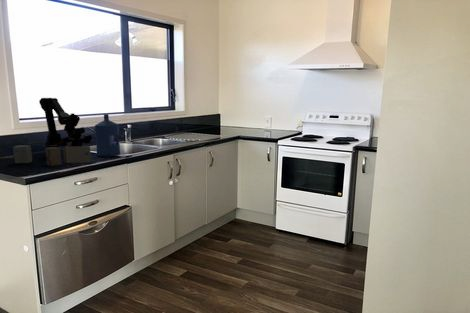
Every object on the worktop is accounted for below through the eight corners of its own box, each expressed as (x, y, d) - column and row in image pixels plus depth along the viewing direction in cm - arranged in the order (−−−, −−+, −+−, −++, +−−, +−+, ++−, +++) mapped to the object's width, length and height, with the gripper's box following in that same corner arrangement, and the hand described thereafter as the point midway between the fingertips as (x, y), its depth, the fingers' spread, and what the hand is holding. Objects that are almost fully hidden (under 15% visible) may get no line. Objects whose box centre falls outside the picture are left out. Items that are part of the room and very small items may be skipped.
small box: (32, 161, 230) (30, 145, 228) (27, 163, 224) (26, 146, 222) (19, 161, 229) (17, 145, 227) (14, 163, 224) (12, 146, 222)
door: (63, 163, 222) (61, 147, 220) (64, 162, 225) (63, 146, 223) (90, 162, 224) (88, 146, 222) (91, 161, 227) (90, 146, 225)
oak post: (47, 164, 221) (45, 148, 219) (56, 162, 225) (54, 147, 223) (52, 165, 216) (50, 149, 215) (61, 164, 221) (60, 148, 219)
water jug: (94, 156, 244) (91, 115, 239) (99, 152, 260) (96, 113, 254) (118, 156, 247) (116, 115, 242) (122, 152, 262) (119, 113, 257)
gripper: (60, 124, 218) (70, 144, 214) (89, 122, 233) (100, 141, 228) (55, 136, 225) (65, 156, 220) (84, 133, 239) (94, 151, 234)
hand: (81, 150), depth 225 cm, fingers closed
